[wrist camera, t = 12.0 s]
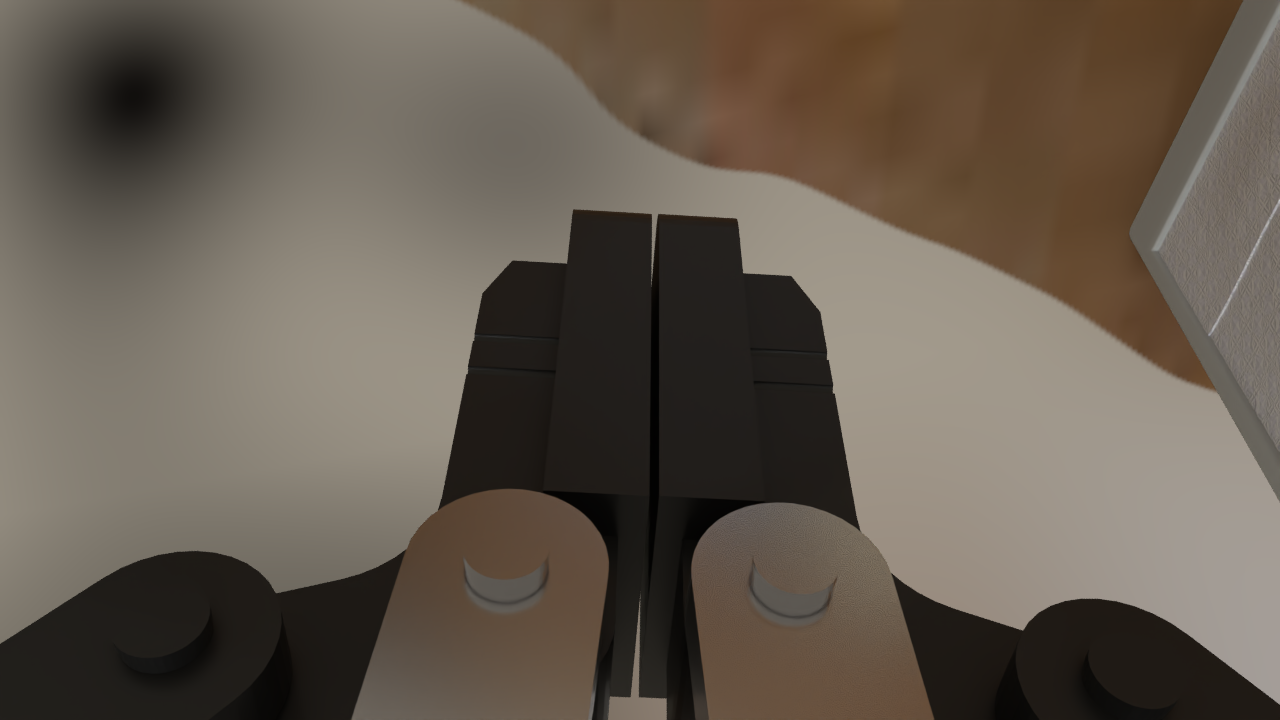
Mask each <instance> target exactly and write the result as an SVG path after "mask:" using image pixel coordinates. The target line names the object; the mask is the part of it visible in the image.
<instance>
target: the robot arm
mask: <svg viewBox="0 0 1280 720" xmlns="http://www.w3.org/2000/svg"><path fill="white" fill-rule="evenodd" d="M651 253H652V214H643V213H626V212H608V211H591V210H573V215H572V223H571V233H570V242H569V252H568V261H567V264H563V263H546V262H528V261H512V262H511V263H510V264H509V265H508V266H507V267H506V268H505V269H504V271H503V272H502V273H501V274H500V275H499V276H498V277H497V278H496V279H495V280H494V281H493V283H492V284H491V285H490V286H489V287H488V288H487V289H486V290H485V291H484V292H483V294H482V299H481V304H480V309H479V314H478V319H477V324H476V329H475V338H474V341H473V344H472V350H471V354H470V359H469V364H468V374H467V375H466V379H465V384H464V389H463V394H462V400H461V404H460V409H459V414H458V419H457V425H456V429H455V435H454V439H453V445H452V450H451V455H450V460H449V465H448V470H447V475H446V480H445V485H444V490H443V495H442V499H441V502H440V506H439V509H438V511H437V512H435V513H434V514H432V515H431V516H430V517H429V518H428V519H427V520H426V521H425V522H424V523H423V524H422V525H421V526H420V527H419V528H418V530H417V531H416V533H415V534H414V535H413V537H412V538H411V540H410V542H409V545H408V547H407V549H406V550H405V551H403V552H402V553H401V554H399V555H398V556H397V557H395V558H393V559H391V560H390V561H388V562H386V563H384V564H382V565H380V566H379V567H376V568H374V569H372V570H369V571H366V572H364V573H362V574H359V575H355V576H352V577H348V578H345V579H341V580H336V581H332V582H327V583H322V584H318V585H314V586H309V587H304V588H299V589H295V590H290V591H286V592H281V593H275V591H274V590H273V588H272V586H271V585H270V583H269V582H268V581H267V580H266V578H265V577H264V576H263V575H262V574H261V573H259V571H257V570H256V569H254V568H253V567H251V566H250V565H248V564H247V563H245V562H242V561H240V560H238V559H235V558H233V557H230V556H226V555H222V554H218V553H212V552H200V551H188V552H174V553H168V554H162V555H157V556H154V557H151V558H147V559H143V560H140V561H137V562H135V563H132V564H130V565H128V566H125V567H123V568H120V569H119V570H117V571H115V572H113V573H111V574H110V575H108V576H106V577H104V578H103V579H101V580H100V581H98V582H97V583H95V584H93V585H92V586H90V587H89V588H87V589H85V590H84V591H82V592H81V593H79V594H78V595H76V596H75V597H73V598H72V599H70V600H68V601H67V602H65V603H63V604H62V605H60V606H59V607H57V608H56V609H54V610H53V611H51V612H49V613H48V614H46V615H45V616H43V617H42V618H40V619H39V620H37V621H36V622H34V623H32V624H31V625H29V626H28V627H26V628H24V629H23V630H21V631H20V632H18V633H17V634H15V635H14V636H12V637H10V638H9V639H7V640H6V641H4V642H2V643H1V644H0V720H608V712H609V699H610V696H613V697H614V696H615V697H631V687H632V676H633V665H634V654H635V644H636V634H637V623H638V612H639V602H640V658H639V697H647V698H667V720H1280V705H1279V704H1278V703H1277V702H1275V701H1274V700H1273V699H1271V698H1270V697H1269V696H1268V695H1266V694H1265V693H1263V692H1262V691H1261V690H1260V689H1258V688H1257V687H1256V686H1254V685H1253V684H1252V683H1251V682H1249V681H1248V680H1247V679H1245V678H1244V677H1243V676H1241V675H1240V674H1238V673H1237V672H1236V671H1235V670H1233V669H1232V668H1231V667H1229V666H1228V665H1227V664H1226V663H1224V662H1223V661H1222V660H1220V659H1219V658H1218V657H1216V656H1215V655H1214V654H1212V653H1211V652H1210V651H1209V650H1207V649H1206V648H1204V647H1203V646H1202V645H1201V644H1199V643H1198V642H1197V641H1195V640H1194V639H1193V638H1191V637H1190V636H1189V635H1187V634H1186V633H1184V632H1183V631H1182V630H1180V629H1179V628H1177V627H1176V626H1174V625H1173V624H1171V623H1169V622H1168V621H1166V620H1164V619H1162V618H1160V617H1158V616H1156V615H1154V614H1153V613H1150V612H1147V611H1145V610H1142V609H1140V608H1137V607H1135V606H1131V605H1127V604H1123V603H1120V602H1116V601H1109V600H1102V599H1077V600H1070V601H1064V602H1061V603H1059V604H1055V605H1052V606H1050V607H1048V608H1047V609H1045V610H1043V611H1041V612H1039V613H1038V614H1037V615H1036V616H1035V617H1034V618H1033V619H1032V620H1031V621H1029V623H1028V624H1027V626H1026V627H1025V629H1024V630H1023V631H1022V630H1019V629H1016V628H1013V627H1009V626H1006V625H1003V624H1000V623H997V622H994V621H991V620H987V619H984V618H981V617H978V616H975V615H972V614H969V613H966V612H962V611H959V610H956V609H953V608H951V607H948V606H946V605H943V604H940V603H938V602H935V601H933V600H931V599H929V598H927V597H925V596H923V595H922V594H919V593H918V592H916V591H915V590H913V589H912V588H910V587H909V586H907V585H905V584H904V583H903V582H901V581H900V580H899V579H898V578H897V577H895V576H894V575H893V574H892V573H891V572H890V570H889V567H888V565H887V562H886V561H885V559H884V558H883V556H882V554H881V553H880V551H879V550H878V549H877V547H876V546H875V545H874V544H873V543H872V542H871V541H870V540H869V538H867V537H866V536H865V535H864V534H862V532H861V531H860V528H859V524H858V520H857V516H856V511H855V505H854V499H853V494H852V488H851V483H850V477H849V471H848V466H847V460H846V454H845V449H844V443H843V438H842V432H841V426H840V421H839V415H838V410H837V404H836V398H835V394H833V382H832V376H831V370H830V365H829V360H827V348H826V342H825V336H824V331H823V326H822V320H821V314H820V311H819V310H818V309H817V308H816V306H815V305H814V304H813V303H812V301H811V300H810V299H809V298H808V296H807V295H806V294H805V293H804V292H803V290H802V289H801V288H800V286H799V285H798V284H797V283H796V281H794V279H793V278H792V277H791V276H779V275H761V274H744V273H743V269H742V257H741V248H740V237H739V227H738V221H737V219H734V218H716V217H699V216H683V215H665V214H658V219H657V227H656V238H655V250H654V262H653V274H652V286H651V259H652V257H651V256H652V254H651ZM640 591H641V592H640Z"/></svg>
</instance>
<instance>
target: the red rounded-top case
mask: <svg viewBox="0 0 1280 720" xmlns="http://www.w3.org/2000/svg"><path fill="white" fill-rule="evenodd" d="M1129 235H1130V238H1131V240H1132V242H1133V244H1134V246H1135V247H1136V249H1137V251H1138V253H1139V254H1140V256H1141V258H1142V260H1143V261H1144V263H1145V265H1146V267H1147V269H1148V270H1149V272H1150V274H1151V276H1152V277H1153V279H1154V281H1155V283H1156V284H1157V286H1158V288H1159V290H1160V291H1161V293H1162V295H1163V297H1164V299H1165V300H1166V302H1167V304H1168V306H1169V307H1170V309H1171V311H1172V313H1173V314H1174V316H1175V318H1176V320H1177V321H1178V323H1179V325H1180V327H1181V329H1182V330H1183V332H1184V334H1185V336H1186V337H1187V339H1188V341H1189V343H1190V344H1191V346H1192V348H1193V350H1194V351H1195V353H1196V355H1197V357H1198V359H1199V360H1200V362H1201V364H1202V366H1203V367H1204V369H1205V371H1206V373H1207V374H1208V376H1209V378H1210V380H1211V381H1212V383H1213V385H1214V387H1215V389H1216V390H1217V392H1218V394H1219V396H1220V397H1221V399H1222V401H1223V403H1224V404H1225V406H1226V408H1227V409H1228V411H1229V413H1230V415H1231V417H1232V419H1233V420H1234V422H1235V424H1236V426H1237V427H1238V429H1239V431H1240V433H1241V434H1242V436H1243V438H1244V440H1245V441H1246V443H1247V445H1248V447H1249V448H1250V450H1251V452H1252V454H1253V456H1254V457H1255V459H1256V461H1257V462H1258V464H1259V466H1260V468H1261V470H1262V471H1263V473H1264V475H1265V477H1266V478H1267V480H1268V482H1269V484H1270V485H1271V487H1272V489H1273V491H1274V492H1275V494H1276V496H1277V498H1278V500H1279V501H1280V0H1243V2H1242V4H1241V6H1240V8H1239V10H1238V12H1237V14H1236V16H1235V18H1234V20H1233V22H1232V24H1231V26H1230V28H1229V30H1228V32H1227V34H1226V37H1225V39H1224V41H1223V43H1222V45H1221V47H1220V49H1219V51H1218V53H1217V55H1216V57H1215V59H1214V61H1213V63H1212V65H1211V67H1210V69H1209V71H1208V73H1207V75H1206V77H1205V79H1204V81H1203V83H1202V85H1201V87H1200V89H1199V91H1198V93H1197V95H1196V97H1195V99H1194V101H1193V103H1192V105H1191V107H1190V109H1189V111H1188V113H1187V115H1186V117H1185V119H1184V121H1183V123H1182V125H1181V127H1180V129H1179V131H1178V133H1177V135H1176V137H1175V139H1174V141H1173V143H1172V145H1171V147H1170V149H1169V151H1168V153H1167V155H1166V157H1165V159H1164V161H1163V163H1162V165H1161V167H1160V169H1159V171H1158V173H1157V175H1156V177H1155V179H1154V181H1153V183H1152V185H1151V187H1150V189H1149V191H1148V194H1147V196H1146V198H1145V200H1144V202H1143V204H1142V206H1141V208H1140V210H1139V212H1138V214H1137V216H1136V218H1135V220H1134V222H1133V224H1132V226H1131V228H1130V232H1129Z"/></svg>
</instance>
